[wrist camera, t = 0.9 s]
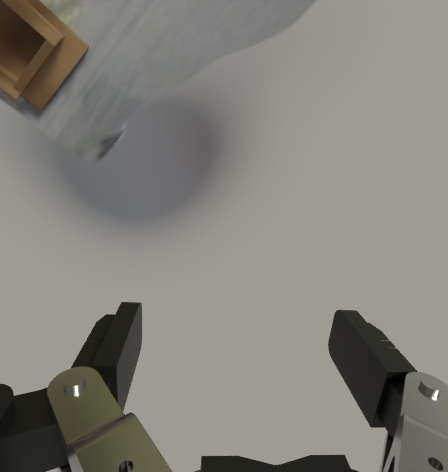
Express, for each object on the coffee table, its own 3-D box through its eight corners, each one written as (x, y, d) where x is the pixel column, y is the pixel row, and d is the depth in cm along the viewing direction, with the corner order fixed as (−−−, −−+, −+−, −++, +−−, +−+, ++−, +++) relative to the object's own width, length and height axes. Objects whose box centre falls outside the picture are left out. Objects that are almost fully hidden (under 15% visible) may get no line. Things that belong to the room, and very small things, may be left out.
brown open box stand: (-81, 16, 30) (-109, 19, 26) (-34, -68, 27) (-58, -78, 24) (43, 107, 37) (34, 119, 33) (89, 47, 34) (84, 53, 31)
